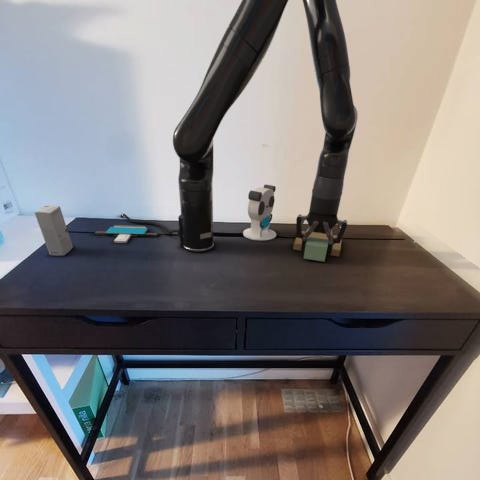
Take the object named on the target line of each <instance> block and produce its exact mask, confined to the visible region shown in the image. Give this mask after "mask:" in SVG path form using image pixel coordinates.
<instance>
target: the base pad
mask: <svg viewBox="0 0 480 480" xmlns="http://www.w3.org/2000/svg"><path fill="white" fill-rule="evenodd" d="M306 231H307V230H302V233H304V234H305V232H306ZM309 237H315V238H322V239H328V238H327V235H326V233H321V232H314V231H313V232H312V233H311V234H310V235H309ZM336 237H337V235H336V234H333V238H336ZM307 239H308V238H307ZM342 239H343V238H342ZM342 239H341V242H340V243H335V244H333V247H332V252H331V254H330V255H329V256H333V257H340V255H341V251H342V241H343V240H342ZM301 246H302V239H301V238H297V237H295V240H294V242H293V248H292V250H294V251H295V250H296V251H301ZM301 252H302V251H301Z"/></svg>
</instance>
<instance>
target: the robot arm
mask: <svg viewBox="0 0 480 480" xmlns="http://www.w3.org/2000/svg"><path fill="white" fill-rule="evenodd" d="M288 2H289V0H241V2H240V3H239V6H238V7H237V9H236V11H235V13H234V15H233V16H232V19H231V20H230V22H229V24H228V26H227V28H226V30H225V32H224V34H223V35H222V38H221V40H220V42H219V43H218V46H217V48H216V50H215V53H214V54H213V57H212V58H211V61H210V64H209V66H208V68H207V70H206V74H205V75H204V78H203V81H202V83H201V86H200V88H199V90H198V92H197V94H196V96H195V98H194V99H193V101H192V103H191V104H190V106H189V107H188V109H187V110H186V112H185V114H184V115H183V117H182V118H181V119H180V121H179V123H178V124H177V125H176V127H175V129H174V131H173V135H172V146H173V150H174V152H175V154H176V155H177V157H178V159H179V172H178V180H177V181H178V193H179V205H180V208H179V209H180V214H179V215H178V218H177V219H178V229H171V230H169V231H168V230H167V229H166V227H165V226H164V225H162V224H160V223H159V222H154V221H142V220H141V221H140V220H134V219H131V218H130V217H129V216H128V215H126V214H125V213H122V214H123V216H122V214H120V216H119V218H123V217H124V218H125V219H126V220H127V221H129V222H130V223H134V224H139V225H153V226H157V227H159V228H161V229H162V230H163V232H164V233H165V234H166V235H168V236H171V235H172V234H173V233H177V238H179V242H180V248H181V249H183V250H185V251H188V252H192V253H205V252H208V251H211V250H213V249H214V247H215V243H214V205H213V204H214V199H213V197H214V195H213V194H214V191H213V189H214V188H213V187H214V186H213V181H214V180H213V179H214V138H215V136H216V134H217V131H218V129H219V127H220V125H221V123H222V121H223V119H224V117H225V116H226V114H227V113H228V112H229V110H230V108H231V107H232V106H233V105H234V103H236V101H237V100H238V99H239V98H240V96H241V94H242V93H243V92H244V90H245V89H246V88H247V86H248V85H249V84H250V82H251V80H253V77H254V76H255V74H256V73H257V71H258V68H259V67H260V65H261V64H262V62H263V60H264V58H265V57H266V55H267V53H268V51H269V48H270V47H271V45H272V42H273V39H274V37H275V34H276V32H277V30H278V27H279V25H280V22H281V21H282V17H283V14H284V11H285V9H286V7H287V4H288ZM302 3H303V9H304V12H305V19H306V24H307V31H308V36H309V43H310V50H311V57H312V62H313V68H314V72H315V78H316V84H317V87H318V92H319V103H320V114H321V121H322V126H323V129H324V131H325V134H324V140H323V146H322V149H321V151H320V153H319V157H318V161H317V167H316V173H315V177H314V182H313V186H312V189H311V198H310V205H309V210H308V214H307V215H302V214H298V215H297V217H296V223H295V225H296V226H295V227H296V229H295V233H296V234H295V235H296V238H301V239H302V246H301V252H302V253H303V254H304V253H305V247H306V242H307V240H308V239H307V238H308V237H309V235H310V234H311V233H312V232H315V233H322V234H326V235H327V238H328V241H329V242H328V247H327V252H326V257H329V256H331V255H330V254H331V252H332V247H333V244H335V243H340V242H341V239H343V236H344V233H345V231H346V229H347V227H348V220H347V219H344V220H341V219H339V218H338V214H339V208H340V205H341V199H342V196H343V191H344V183H345V176H346V171H347V166H348V160H349V155H350V154H349V153H350V149H351V146H352V142H353V138H354V135H355V132H356V128H357V124H358V115H359V113H358V110H357V107H356V106H355V104H354V99H353V93H352V87H351V66H350V65H351V64H350V59H349V53H348V45H347V39H346V34H345V30H344V25H343V22H342V18H341V15H340V12H339V11H340V10H339V7H338V4H337V0H302ZM305 221H306V223H307V225H308V228H307V229H306V230H305V231H306V232H305V234H304V233H302V231H303V224H304V223H305ZM336 225H338V226H337V229H339V231H338V233H337V235H336V236H337V237H336V238H333V235H334V234H333V230H332V229H333V228H334V227H335V226H336ZM341 243H342V242H341Z"/></svg>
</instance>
